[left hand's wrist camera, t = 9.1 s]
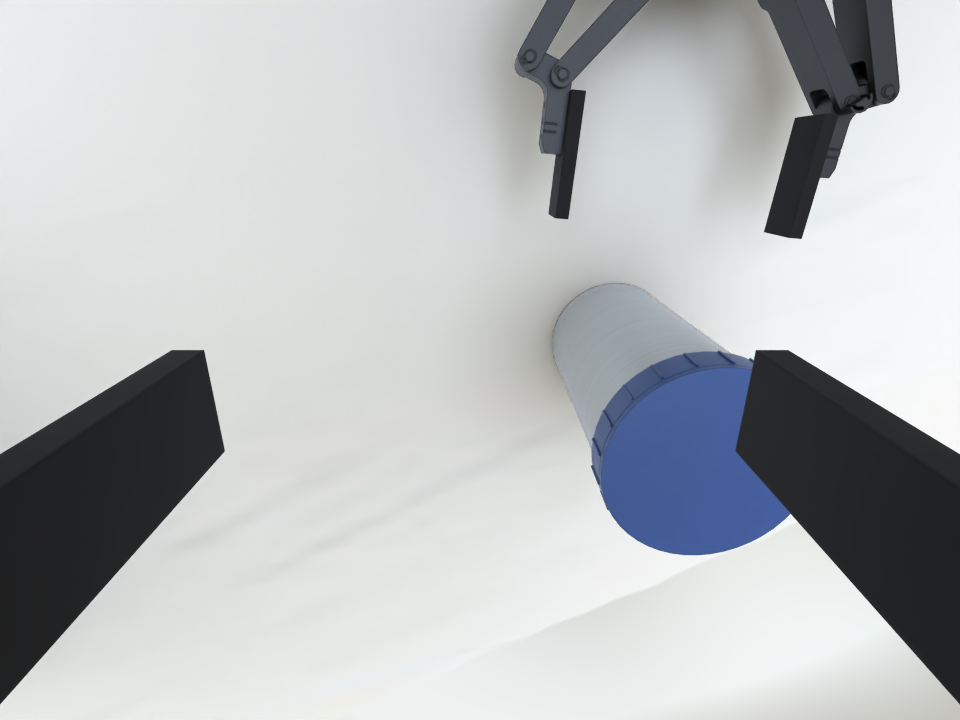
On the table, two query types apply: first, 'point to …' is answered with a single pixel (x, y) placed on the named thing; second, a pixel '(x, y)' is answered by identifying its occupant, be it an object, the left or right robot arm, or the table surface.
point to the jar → (616, 344)
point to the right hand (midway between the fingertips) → (670, 226)
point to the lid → (683, 457)
